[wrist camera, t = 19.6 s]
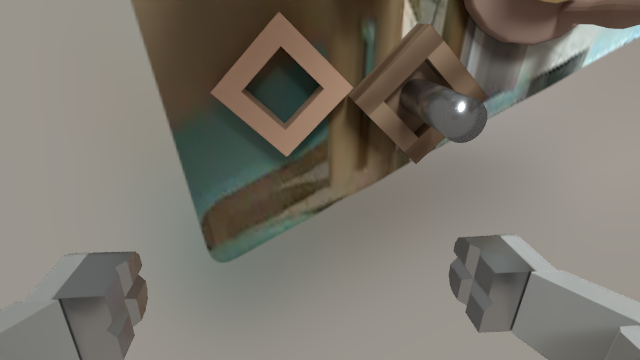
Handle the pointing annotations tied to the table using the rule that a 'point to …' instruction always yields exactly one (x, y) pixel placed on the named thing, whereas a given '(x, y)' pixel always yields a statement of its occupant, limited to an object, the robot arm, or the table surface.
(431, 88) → the steel peg
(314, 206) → the table surface
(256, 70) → the socket collar
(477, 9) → the hourglass
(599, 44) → the table surface
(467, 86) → the square peg hole block
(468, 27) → the table surface
